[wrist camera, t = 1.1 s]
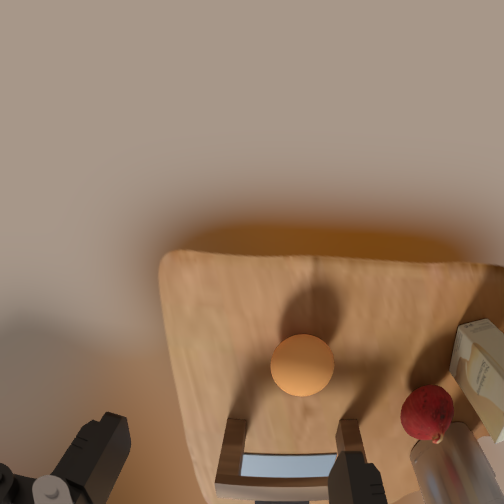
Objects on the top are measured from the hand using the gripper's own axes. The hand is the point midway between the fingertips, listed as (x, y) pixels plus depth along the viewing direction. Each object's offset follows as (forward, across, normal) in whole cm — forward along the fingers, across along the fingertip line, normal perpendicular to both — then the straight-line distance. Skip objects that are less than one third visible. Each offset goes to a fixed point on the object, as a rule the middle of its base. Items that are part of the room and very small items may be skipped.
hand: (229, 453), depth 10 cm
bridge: (+18, -6, +18) cm, 26 cm away
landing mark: (+18, -8, +28) cm, 35 cm away
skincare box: (+18, -24, +5) cm, 30 cm away
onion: (+18, -19, +11) cm, 29 cm away
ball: (+15, -5, +6) cm, 17 cm away
